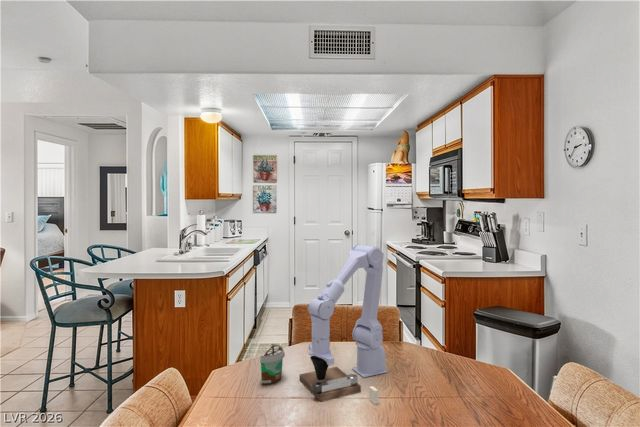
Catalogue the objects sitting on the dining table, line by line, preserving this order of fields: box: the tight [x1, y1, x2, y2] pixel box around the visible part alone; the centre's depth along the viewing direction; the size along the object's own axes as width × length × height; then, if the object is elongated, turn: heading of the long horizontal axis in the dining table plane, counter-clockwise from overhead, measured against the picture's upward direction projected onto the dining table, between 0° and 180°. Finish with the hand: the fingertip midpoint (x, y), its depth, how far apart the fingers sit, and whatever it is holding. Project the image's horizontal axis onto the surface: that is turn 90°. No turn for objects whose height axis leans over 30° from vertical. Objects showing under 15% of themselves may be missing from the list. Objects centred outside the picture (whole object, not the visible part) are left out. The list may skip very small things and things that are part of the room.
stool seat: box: [298, 366, 362, 403], centre depth 133 cm, size 14×16×2 cm
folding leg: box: [312, 373, 358, 394], centre depth 127 cm, size 15×3×2 cm, turn 116°
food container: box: [259, 343, 286, 386], centre depth 137 cm, size 12×6×10 cm, turn 168°
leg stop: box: [368, 385, 379, 405], centre depth 122 cm, size 1×3×4 cm, turn 26°
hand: (320, 379), depth 131 cm, fingers closed
